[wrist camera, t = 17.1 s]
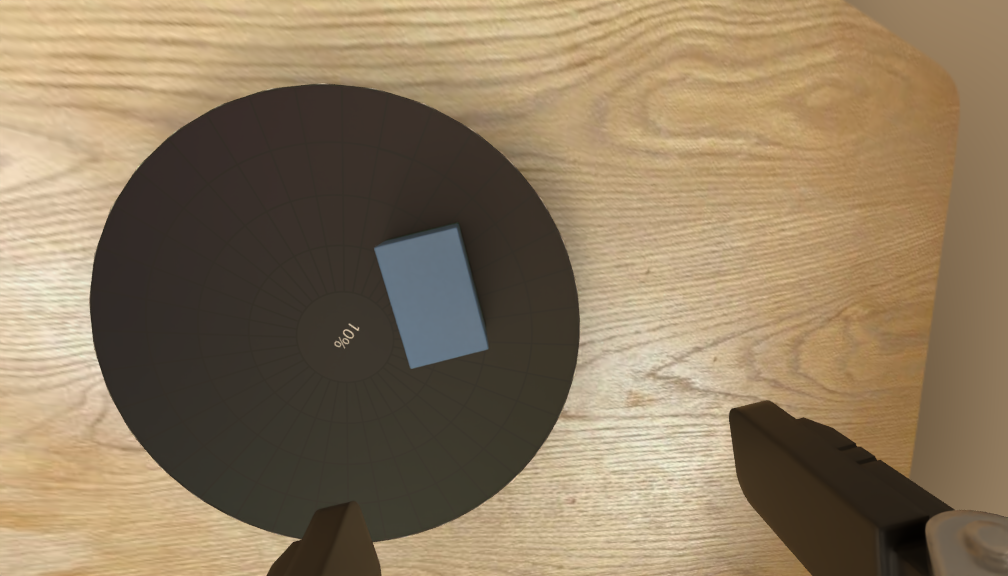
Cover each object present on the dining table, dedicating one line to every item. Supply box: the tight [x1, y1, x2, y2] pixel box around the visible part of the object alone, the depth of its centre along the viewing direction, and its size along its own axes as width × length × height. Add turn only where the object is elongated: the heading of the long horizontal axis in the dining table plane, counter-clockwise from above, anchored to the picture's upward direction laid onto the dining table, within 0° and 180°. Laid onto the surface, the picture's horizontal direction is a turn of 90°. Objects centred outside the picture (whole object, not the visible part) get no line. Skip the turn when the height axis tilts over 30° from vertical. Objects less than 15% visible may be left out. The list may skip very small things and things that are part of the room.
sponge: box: [374, 222, 489, 369], centre depth 27 cm, size 7×4×4 cm, turn 13°
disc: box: [89, 83, 581, 542], centre depth 31 cm, size 30×30×3 cm
